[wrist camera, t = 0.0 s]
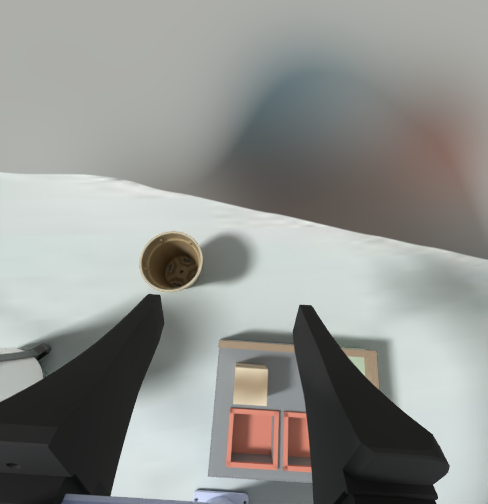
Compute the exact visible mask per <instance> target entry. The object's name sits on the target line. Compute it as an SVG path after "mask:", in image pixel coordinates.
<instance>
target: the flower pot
mask: <svg viewBox="0 0 488 504" xmlns="http://www.w3.org/2000/svg"><path fill="white" fill-rule="evenodd" d="M184 259H188V260H190V262H186V261H184ZM170 265H172V267H171V269H170V271H168V269H169V266H170ZM202 265H203V255H202V251H201V248H200V246H199V245H198V243H197V242H196V241H195V240H194V239H193V238H192V237H190V236H189V235H187V234H185V233H182V232H176V231H171V232H164V233H161V234H159V235H157V236H155V237H154V238H152V239H151V240H150V241H149V242H148V243H147V244H146V246H145V247H144V249H143V251H142V253H141V256H140V262H139V266H140V272H141V275H142V277H143V278H144V280H145V281H146V282H147V283H148V284H149V285H150V286H151V287H153V288H154V289H157V290H159V291H163V292H176V291H180V290H183V289H186V288H189V287H191V286H192V285H193V284H194V283H195V282H196V281H197V279H198V276H199V274H200V272H201V269H202ZM181 271H183V272H182V273H181ZM194 274H196V275H195V277H194V278H193V276H194ZM174 283H175V284H178V285H180V287H177V286H174Z"/></svg>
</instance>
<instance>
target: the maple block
mask: <svg viewBox="0 0 488 504" xmlns="http://www.w3.org/2000/svg"><path fill="white" fill-rule="evenodd" d="M267 384H268V369H267V368H266V366H265V365H257V364H242V363H236V366H235V380H234V394H233V404H242V405H257V406H267Z"/></svg>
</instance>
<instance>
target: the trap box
mask: <svg viewBox="0 0 488 504" xmlns="http://www.w3.org/2000/svg"><path fill="white" fill-rule="evenodd" d="M340 348H341V349H342V350H343V351H344V353H345V354H346V355H347V356H348V358H349V359H350V360H351V361H352V362H353V364H354V365H355V366H356V367H357V368H358V369H359V370H360V371H361V372H362V374H363V375H364V376H365V377H366V378H367V379H368V380H369V381H370V382H371V383H372V384H373V385H374V386H375V387H376V388H378V389H379V379H378V365H377V352H376V351H372V350H366V349H359V348H345V347H340ZM236 363H242V364H257V365H265V366H266V368H267V369H268V384H267V406H257V405H242V404H233V394H234V380H235V366H236ZM208 476H209V477H225V478H240V479H256V480H272V481H288V482H303V483H312V470H311V458H310V446H309V436H308V426H307V417H306V408H305V400H304V394H303V389H302V384H301V380H300V375H299V370H298V365H297V360H296V355H295V350H294V344H287V343H272V342H258V341H243V340H229V339H220V340H219V356H218V368H217V379H216V390H215V401H214V413H213V424H212V435H211V447H210V458H209V469H208Z"/></svg>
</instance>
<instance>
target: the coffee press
mask: <svg viewBox="0 0 488 504" xmlns="http://www.w3.org/2000/svg"><path fill="white" fill-rule="evenodd" d="M50 350H51V348H50V347H48V346H47V345H46V344H41V345H39V346H37V347H36V348H34V349H32V350H29V351H23V350H20V349H15V348H5V349H0V402H1V401H3V400H5V399H7V398H9V397H11V396H13V395H15V394H17V393H18V392H20V391H22V390H24V389H26V388H28V387H30V386H31V385H33V384H35V383H37V382H38V381H40V380H42V379H43V373H42V369H41V366H40V364H39V363H38V361H39V360H40V359H41V358H43V357H44V356H45V355H47V354H48V353H49V352H50Z"/></svg>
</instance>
